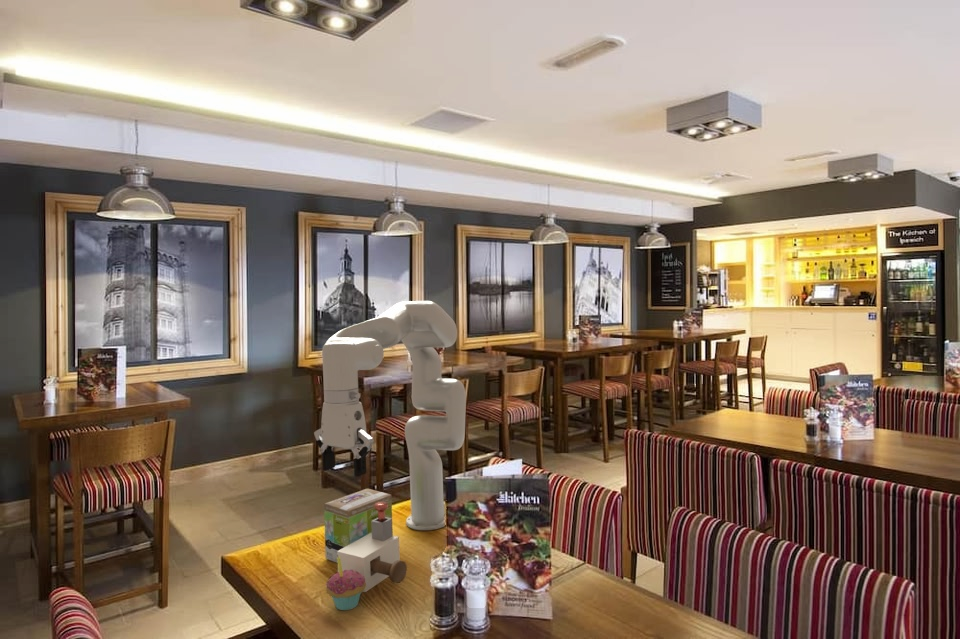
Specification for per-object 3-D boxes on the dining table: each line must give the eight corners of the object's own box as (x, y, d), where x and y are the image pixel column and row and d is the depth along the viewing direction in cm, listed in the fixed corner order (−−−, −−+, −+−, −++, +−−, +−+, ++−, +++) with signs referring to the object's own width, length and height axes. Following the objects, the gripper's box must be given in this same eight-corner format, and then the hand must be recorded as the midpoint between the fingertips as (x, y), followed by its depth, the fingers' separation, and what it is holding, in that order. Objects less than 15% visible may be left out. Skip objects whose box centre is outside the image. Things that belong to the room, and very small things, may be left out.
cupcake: (347, 618, 129) (344, 562, 128) (318, 608, 133) (315, 554, 133) (374, 600, 136) (372, 547, 135) (346, 591, 141) (344, 540, 140)
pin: (407, 578, 142) (406, 557, 141) (393, 587, 137) (393, 566, 137) (363, 566, 148) (362, 547, 148) (349, 574, 144) (348, 554, 144)
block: (374, 562, 155) (372, 514, 154) (400, 568, 151) (398, 519, 150) (338, 584, 144) (336, 532, 143) (364, 592, 140) (362, 538, 139)
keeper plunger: (381, 522, 153) (380, 501, 152) (391, 524, 151) (390, 503, 151) (372, 526, 150) (371, 505, 150) (382, 529, 148) (381, 507, 148)
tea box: (350, 569, 152) (348, 510, 151) (324, 559, 158) (322, 502, 157) (394, 547, 164) (392, 493, 163) (368, 539, 170) (366, 486, 169)
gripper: (382, 396, 136) (384, 472, 137) (326, 391, 145) (329, 463, 146) (358, 402, 130) (361, 482, 130) (301, 396, 139) (304, 471, 140)
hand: (344, 472), depth 138 cm, fingers open, 9 cm apart
